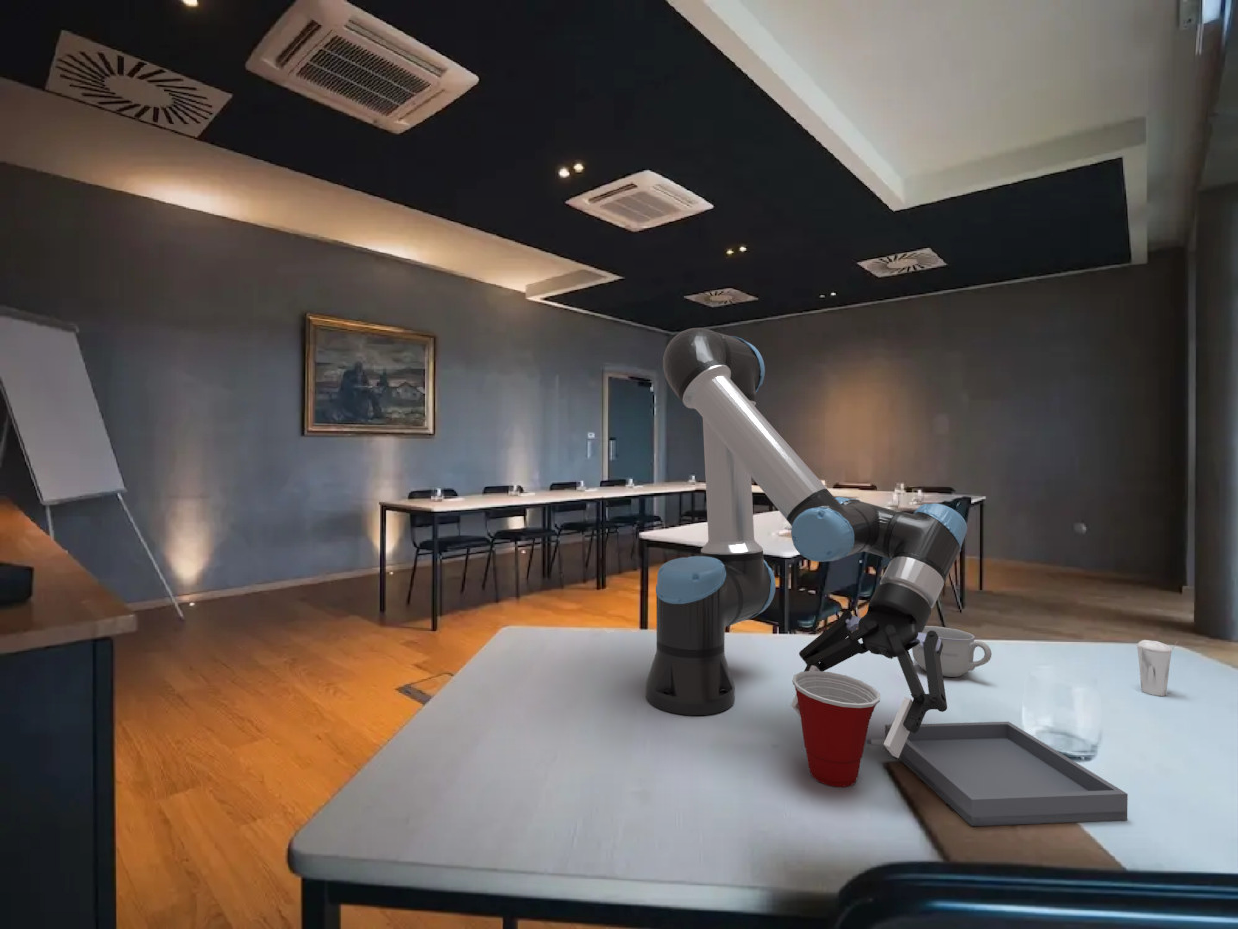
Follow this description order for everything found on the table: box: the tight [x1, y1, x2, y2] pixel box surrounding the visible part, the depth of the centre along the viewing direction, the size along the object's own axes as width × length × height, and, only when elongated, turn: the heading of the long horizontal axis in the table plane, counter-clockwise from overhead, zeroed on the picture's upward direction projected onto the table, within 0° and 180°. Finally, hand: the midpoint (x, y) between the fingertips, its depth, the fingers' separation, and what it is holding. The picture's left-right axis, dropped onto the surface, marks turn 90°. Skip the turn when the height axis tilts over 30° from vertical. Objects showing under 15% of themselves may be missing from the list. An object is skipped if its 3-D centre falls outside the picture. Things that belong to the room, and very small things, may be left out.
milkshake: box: [1136, 639, 1179, 697], centre depth 104 cm, size 4×5×10 cm
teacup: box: [911, 625, 992, 678], centre depth 113 cm, size 14×11×8 cm
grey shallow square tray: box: [884, 721, 1129, 827], centre depth 76 cm, size 19×19×3 cm
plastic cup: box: [791, 670, 881, 788], centre depth 76 cm, size 11×11×12 cm
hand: (840, 730), depth 76 cm, fingers open, 13 cm apart
